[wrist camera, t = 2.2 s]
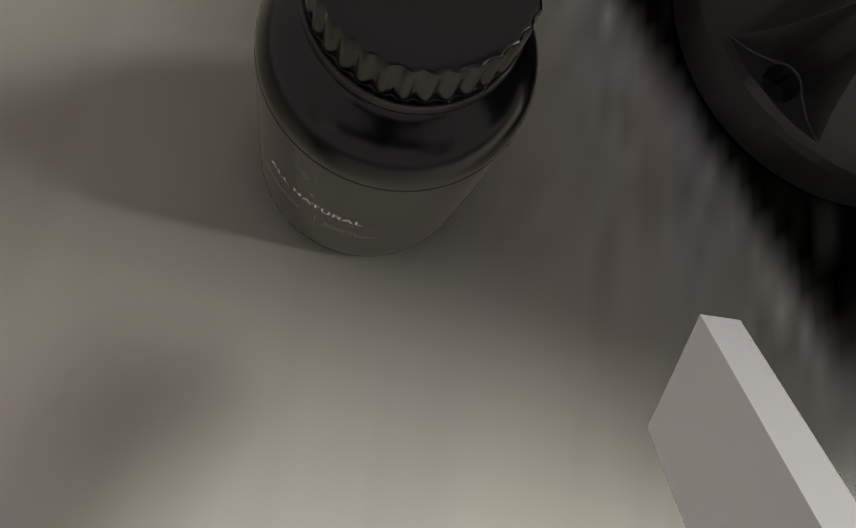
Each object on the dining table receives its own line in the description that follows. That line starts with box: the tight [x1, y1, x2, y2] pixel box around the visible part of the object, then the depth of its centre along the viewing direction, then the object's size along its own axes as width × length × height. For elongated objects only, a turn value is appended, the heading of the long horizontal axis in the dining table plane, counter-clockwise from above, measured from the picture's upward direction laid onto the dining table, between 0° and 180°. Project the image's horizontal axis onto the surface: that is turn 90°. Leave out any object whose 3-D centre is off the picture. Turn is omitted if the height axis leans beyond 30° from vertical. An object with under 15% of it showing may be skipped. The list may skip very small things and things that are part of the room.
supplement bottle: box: [254, 0, 542, 256], centre depth 21 cm, size 7×7×12 cm
